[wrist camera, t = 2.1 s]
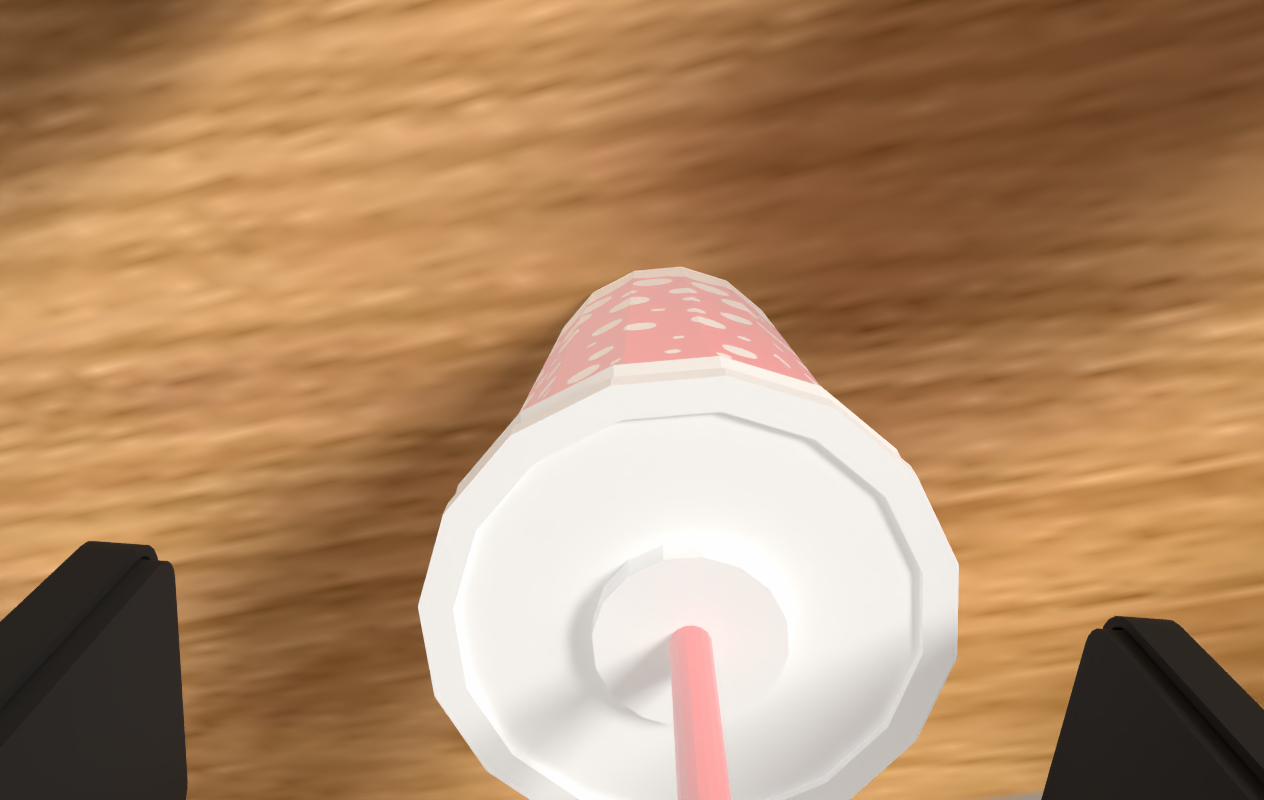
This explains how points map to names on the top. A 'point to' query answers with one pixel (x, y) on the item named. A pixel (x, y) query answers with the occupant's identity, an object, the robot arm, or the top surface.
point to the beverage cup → (687, 569)
